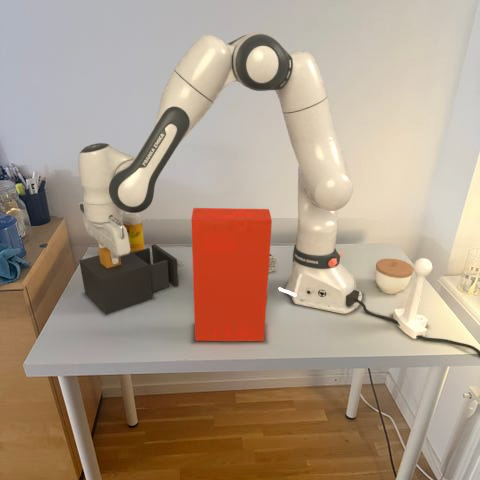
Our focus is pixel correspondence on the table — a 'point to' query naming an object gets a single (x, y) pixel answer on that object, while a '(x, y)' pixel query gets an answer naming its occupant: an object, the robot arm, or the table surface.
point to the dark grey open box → (116, 282)
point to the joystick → (414, 303)
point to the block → (106, 258)
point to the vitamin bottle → (134, 230)
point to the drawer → (160, 267)
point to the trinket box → (392, 275)
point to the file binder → (230, 273)
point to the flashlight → (272, 263)
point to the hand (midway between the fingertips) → (110, 259)
